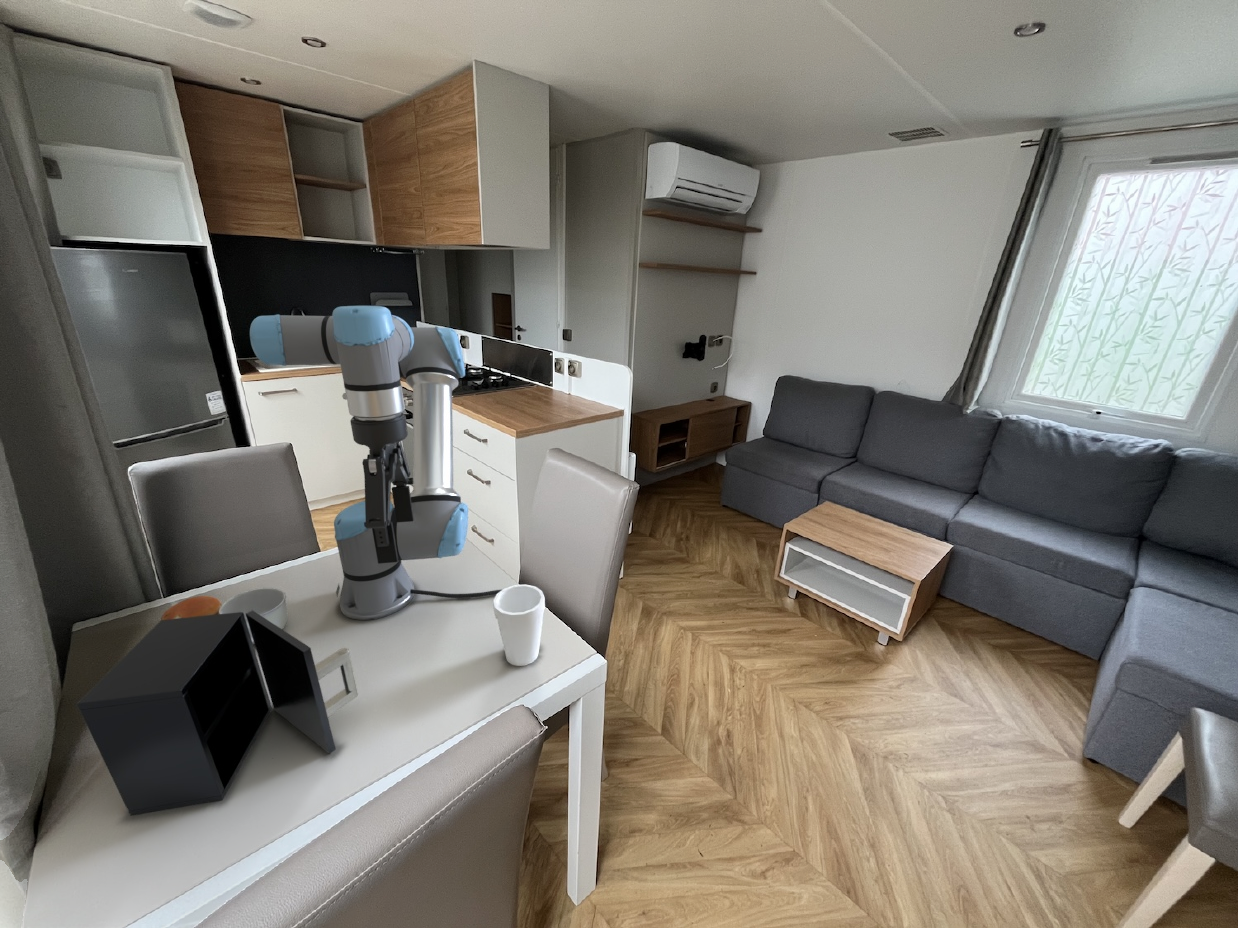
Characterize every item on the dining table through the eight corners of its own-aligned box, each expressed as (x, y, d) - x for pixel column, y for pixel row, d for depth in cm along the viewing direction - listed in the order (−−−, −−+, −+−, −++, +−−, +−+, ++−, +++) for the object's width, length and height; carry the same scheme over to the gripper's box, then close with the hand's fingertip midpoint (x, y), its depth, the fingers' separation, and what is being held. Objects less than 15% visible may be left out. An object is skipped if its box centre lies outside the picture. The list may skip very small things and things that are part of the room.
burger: (230, 604, 109) (224, 587, 108) (218, 630, 102) (212, 612, 100) (174, 616, 105) (167, 598, 104) (157, 644, 98) (150, 625, 96)
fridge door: (314, 683, 89) (291, 591, 82) (370, 722, 81) (349, 624, 74) (274, 709, 83) (245, 613, 76) (329, 754, 76) (303, 651, 69)
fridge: (272, 709, 84) (243, 611, 77) (222, 800, 69) (180, 690, 62) (198, 719, 81) (161, 619, 74) (130, 816, 67) (76, 703, 60)
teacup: (250, 618, 105) (241, 586, 103) (303, 616, 106) (295, 584, 104) (204, 665, 92) (192, 631, 90) (265, 663, 93) (255, 628, 91)
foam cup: (556, 654, 97) (554, 599, 93) (517, 679, 91) (513, 621, 86) (526, 631, 103) (523, 578, 99) (488, 654, 97) (483, 598, 92)
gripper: (371, 396, 84) (389, 508, 92) (321, 441, 61) (350, 585, 69) (418, 395, 86) (432, 505, 93) (385, 438, 63) (407, 580, 70)
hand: (397, 539), depth 81 cm, fingers open, 13 cm apart
